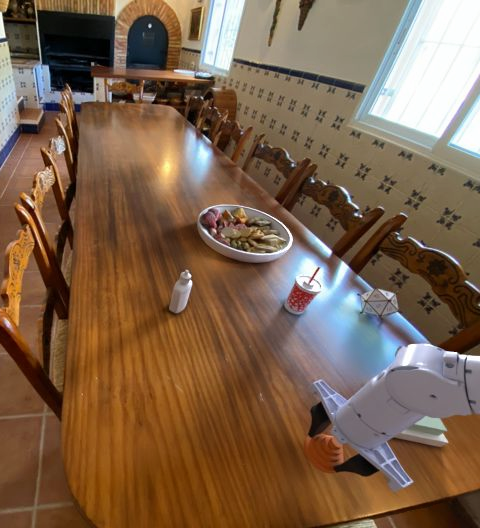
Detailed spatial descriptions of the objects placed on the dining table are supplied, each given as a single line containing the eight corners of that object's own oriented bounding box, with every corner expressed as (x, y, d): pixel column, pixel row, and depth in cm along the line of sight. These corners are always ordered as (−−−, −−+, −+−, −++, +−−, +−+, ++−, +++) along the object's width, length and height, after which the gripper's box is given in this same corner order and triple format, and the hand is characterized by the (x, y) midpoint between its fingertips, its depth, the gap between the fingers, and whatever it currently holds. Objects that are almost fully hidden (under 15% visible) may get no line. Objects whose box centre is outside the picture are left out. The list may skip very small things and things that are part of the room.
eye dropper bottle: (191, 309, 74) (202, 274, 67) (172, 315, 72) (181, 279, 65) (183, 297, 77) (192, 262, 70) (164, 302, 75) (171, 267, 68)
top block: (439, 435, 53) (447, 431, 51) (397, 427, 53) (404, 422, 52) (417, 397, 58) (424, 392, 57) (379, 390, 59) (385, 385, 57)
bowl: (276, 223, 110) (285, 204, 105) (295, 275, 87) (307, 255, 82) (195, 211, 113) (200, 192, 108) (194, 258, 91) (199, 237, 86)
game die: (353, 319, 81) (345, 285, 79) (385, 310, 80) (379, 276, 78) (378, 332, 72) (370, 294, 70) (415, 323, 71) (408, 284, 69)
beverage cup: (294, 319, 74) (322, 278, 65) (276, 302, 78) (299, 262, 69) (311, 312, 76) (339, 272, 67) (292, 296, 80) (316, 256, 72)
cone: (345, 477, 46) (364, 467, 43) (308, 469, 47) (324, 458, 44) (333, 439, 51) (349, 427, 48) (299, 432, 51) (313, 419, 48)
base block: (440, 447, 53) (449, 443, 52) (387, 436, 54) (394, 431, 53) (412, 398, 60) (419, 393, 59) (365, 389, 61) (371, 384, 59)
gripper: (311, 373, 43) (275, 414, 52) (411, 487, 33) (346, 515, 42) (345, 360, 45) (306, 402, 54) (450, 464, 35) (380, 495, 44)
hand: (325, 450), depth 48 cm, fingers closed on cone, 4 cm apart
